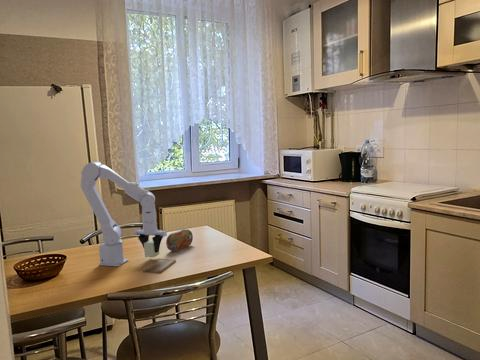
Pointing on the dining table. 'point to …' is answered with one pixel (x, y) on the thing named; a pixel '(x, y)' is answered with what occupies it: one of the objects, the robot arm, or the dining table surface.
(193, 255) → the dining table surface
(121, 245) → the robot arm
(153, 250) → the block
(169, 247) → the tin
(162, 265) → the board
